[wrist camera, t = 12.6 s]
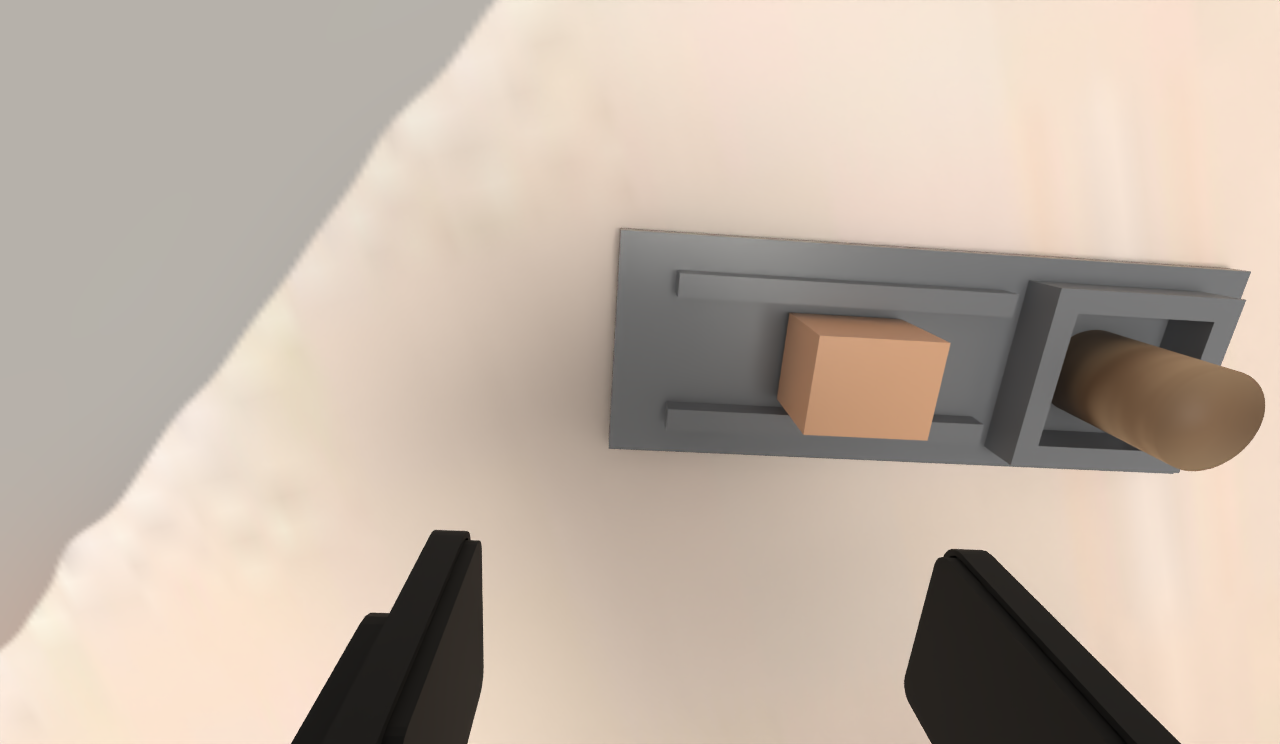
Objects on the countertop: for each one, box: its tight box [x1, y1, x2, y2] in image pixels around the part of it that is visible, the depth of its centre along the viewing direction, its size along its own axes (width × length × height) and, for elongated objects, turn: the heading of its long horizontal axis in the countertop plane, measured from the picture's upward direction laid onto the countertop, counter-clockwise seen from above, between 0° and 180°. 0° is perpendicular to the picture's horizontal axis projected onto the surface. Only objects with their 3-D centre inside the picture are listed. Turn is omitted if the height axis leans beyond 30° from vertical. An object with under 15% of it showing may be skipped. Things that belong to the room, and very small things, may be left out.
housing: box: [609, 228, 1251, 474], centre depth 26 cm, size 10×28×3 cm, turn 86°
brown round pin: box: [1051, 330, 1265, 471], centre depth 24 cm, size 4×4×6 cm
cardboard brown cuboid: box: [777, 313, 951, 441], centre depth 24 cm, size 4×5×4 cm
